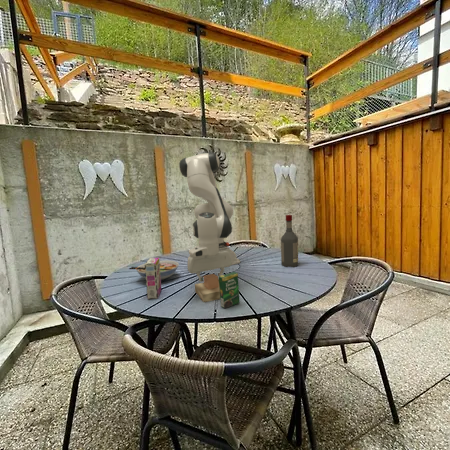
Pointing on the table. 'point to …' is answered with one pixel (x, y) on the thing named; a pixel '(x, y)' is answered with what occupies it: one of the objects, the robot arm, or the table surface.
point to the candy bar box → (153, 278)
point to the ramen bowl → (165, 269)
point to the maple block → (207, 292)
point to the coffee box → (229, 290)
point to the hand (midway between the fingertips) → (210, 279)
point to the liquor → (289, 245)
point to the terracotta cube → (211, 281)
